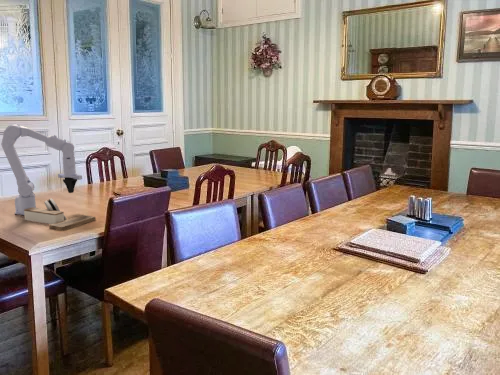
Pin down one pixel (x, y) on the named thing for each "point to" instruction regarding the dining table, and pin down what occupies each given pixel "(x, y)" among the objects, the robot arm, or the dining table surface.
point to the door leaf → (72, 222)
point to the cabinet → (43, 215)
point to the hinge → (52, 205)
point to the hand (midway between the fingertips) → (71, 192)
